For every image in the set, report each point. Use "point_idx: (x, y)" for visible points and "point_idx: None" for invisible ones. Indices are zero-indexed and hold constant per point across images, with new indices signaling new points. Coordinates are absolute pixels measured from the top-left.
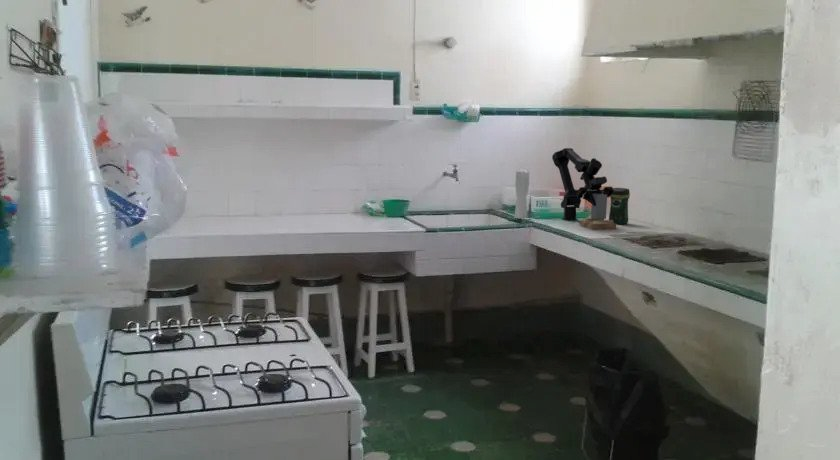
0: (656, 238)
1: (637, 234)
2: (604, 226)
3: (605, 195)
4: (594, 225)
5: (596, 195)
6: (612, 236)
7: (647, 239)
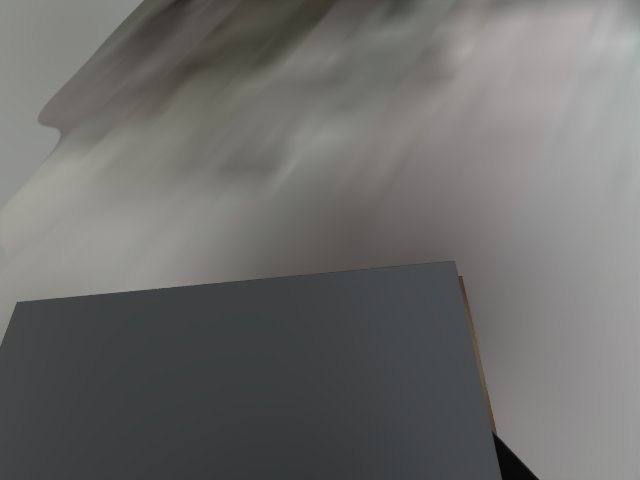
0: (245, 25)
1: (257, 109)
2: None
3: (100, 304)
4: (462, 289)
5: (469, 364)
6: (440, 52)
7: (302, 3)
